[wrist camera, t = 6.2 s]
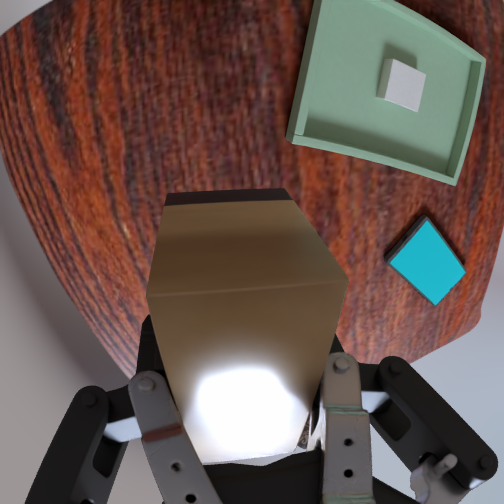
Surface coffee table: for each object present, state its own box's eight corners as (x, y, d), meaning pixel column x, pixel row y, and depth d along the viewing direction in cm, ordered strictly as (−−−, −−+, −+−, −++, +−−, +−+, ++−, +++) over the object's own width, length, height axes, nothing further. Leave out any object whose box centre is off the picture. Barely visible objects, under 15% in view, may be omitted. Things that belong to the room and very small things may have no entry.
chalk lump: (384, 58, 22) (393, 58, 20) (417, 73, 23) (426, 74, 21) (375, 97, 24) (384, 99, 22) (408, 110, 24) (418, 112, 23)
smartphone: (427, 216, 31) (467, 271, 37) (422, 212, 31) (464, 268, 38) (385, 263, 33) (434, 307, 39) (381, 259, 34) (431, 304, 40)
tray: (318, -22, 18) (327, -28, 16) (473, 57, 22) (486, 59, 20) (285, 138, 25) (291, 143, 24) (444, 179, 30) (455, 186, 28)
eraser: (166, 192, 11) (145, 295, 6) (284, 187, 12) (350, 279, 7) (190, 365, 16) (196, 463, 11) (269, 358, 17) (295, 451, 12)
